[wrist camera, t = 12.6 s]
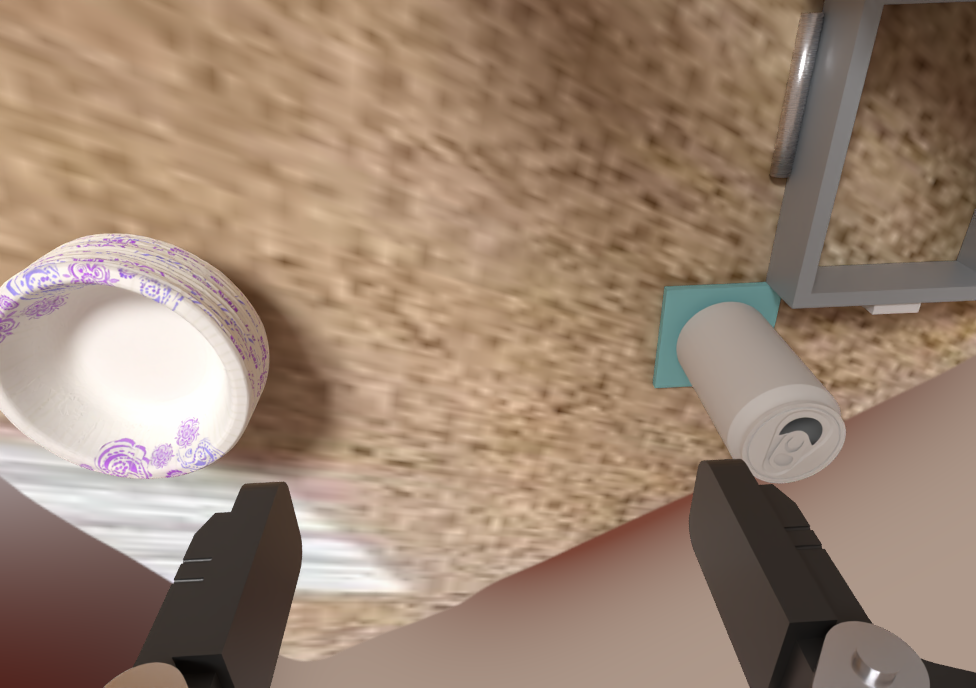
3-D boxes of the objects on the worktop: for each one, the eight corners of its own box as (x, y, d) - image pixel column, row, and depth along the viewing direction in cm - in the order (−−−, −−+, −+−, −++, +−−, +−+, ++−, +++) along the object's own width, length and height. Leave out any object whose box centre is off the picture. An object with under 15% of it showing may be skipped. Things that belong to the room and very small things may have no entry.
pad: (664, 286, 44) (666, 290, 43) (779, 281, 44) (783, 285, 43) (652, 383, 48) (654, 388, 47) (758, 378, 48) (761, 383, 47)
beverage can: (780, 312, 44) (879, 417, 34) (731, 384, 47) (808, 501, 37) (702, 284, 43) (779, 384, 33) (656, 360, 46) (714, 473, 36)
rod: (825, 12, 35) (802, 12, 36) (824, 13, 35) (800, 13, 35) (791, 173, 40) (770, 171, 40) (789, 178, 39) (768, 176, 40)
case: (828, -19, 35) (869, -18, 31) (1080, -28, 35) (1148, -28, 32) (763, 292, 44) (789, 319, 41) (961, 283, 45) (1003, 309, 41)
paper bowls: (162, 441, 49) (114, 518, 42) (-4, 283, 42) (-95, 345, 35) (326, 355, 45) (303, 423, 39) (176, 169, 38) (114, 212, 32)
